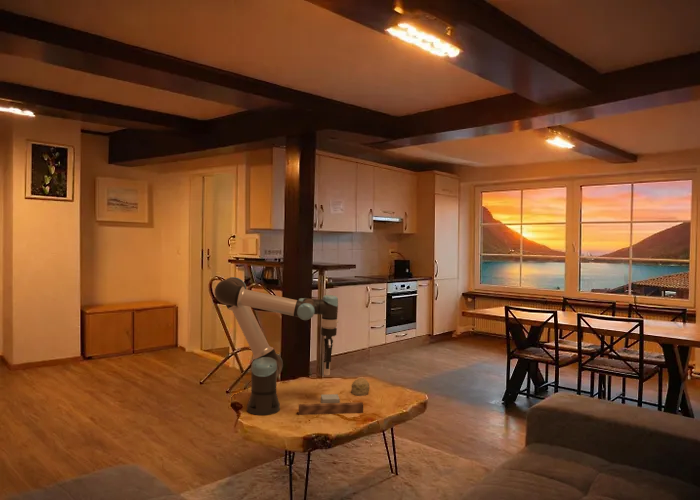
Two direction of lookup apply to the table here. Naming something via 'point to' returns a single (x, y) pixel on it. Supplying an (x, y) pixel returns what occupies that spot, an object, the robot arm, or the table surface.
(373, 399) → the table surface
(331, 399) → the block
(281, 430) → the table surface
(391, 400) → the table surface
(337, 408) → the brown wooden bar
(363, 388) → the decorative object
